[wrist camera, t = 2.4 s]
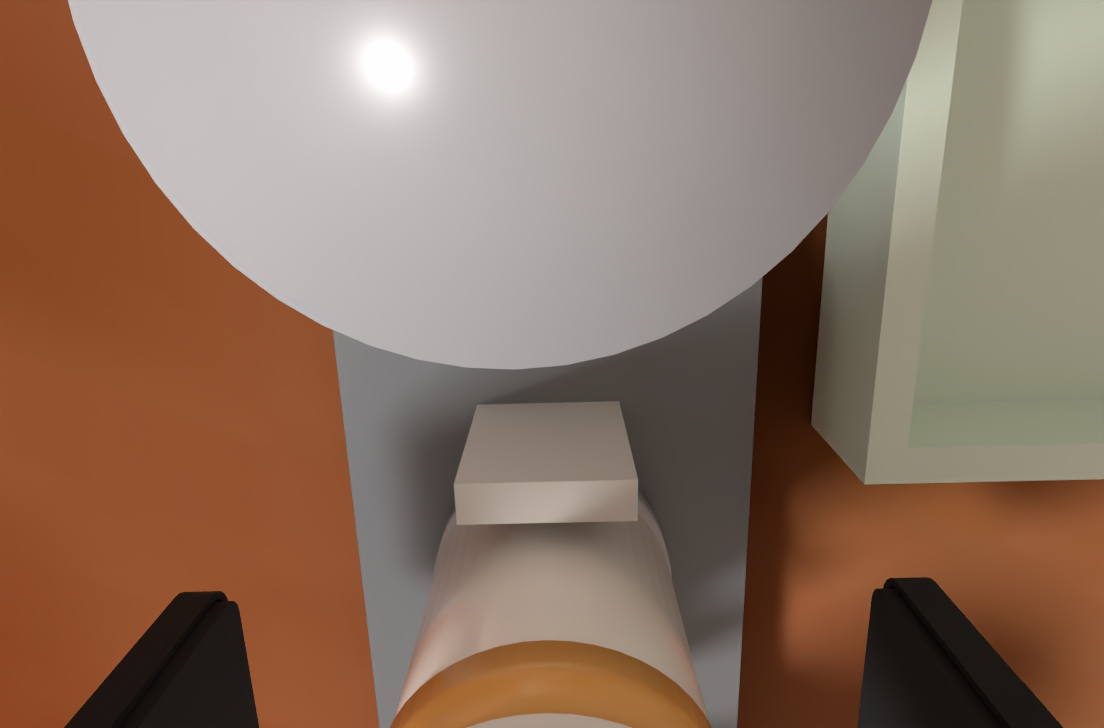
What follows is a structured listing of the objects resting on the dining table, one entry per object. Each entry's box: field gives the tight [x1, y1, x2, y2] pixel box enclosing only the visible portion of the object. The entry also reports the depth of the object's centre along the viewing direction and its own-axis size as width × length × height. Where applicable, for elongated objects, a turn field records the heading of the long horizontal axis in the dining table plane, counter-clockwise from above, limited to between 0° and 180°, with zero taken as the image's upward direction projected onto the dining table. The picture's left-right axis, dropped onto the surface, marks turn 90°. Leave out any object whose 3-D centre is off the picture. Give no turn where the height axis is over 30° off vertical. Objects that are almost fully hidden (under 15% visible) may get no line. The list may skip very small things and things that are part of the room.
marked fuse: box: [390, 488, 712, 728], centre depth 9 cm, size 4×4×8 cm
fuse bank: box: [68, 0, 932, 728], centre depth 10 cm, size 22×7×9 cm, turn 2°
